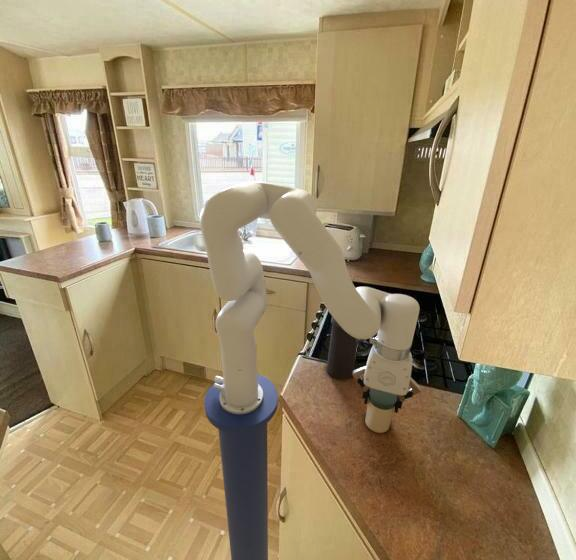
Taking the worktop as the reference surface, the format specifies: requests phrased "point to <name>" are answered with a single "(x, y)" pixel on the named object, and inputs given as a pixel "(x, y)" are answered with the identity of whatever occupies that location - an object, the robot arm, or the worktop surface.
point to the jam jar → (378, 418)
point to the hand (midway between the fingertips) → (380, 404)
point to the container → (341, 352)
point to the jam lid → (382, 399)
